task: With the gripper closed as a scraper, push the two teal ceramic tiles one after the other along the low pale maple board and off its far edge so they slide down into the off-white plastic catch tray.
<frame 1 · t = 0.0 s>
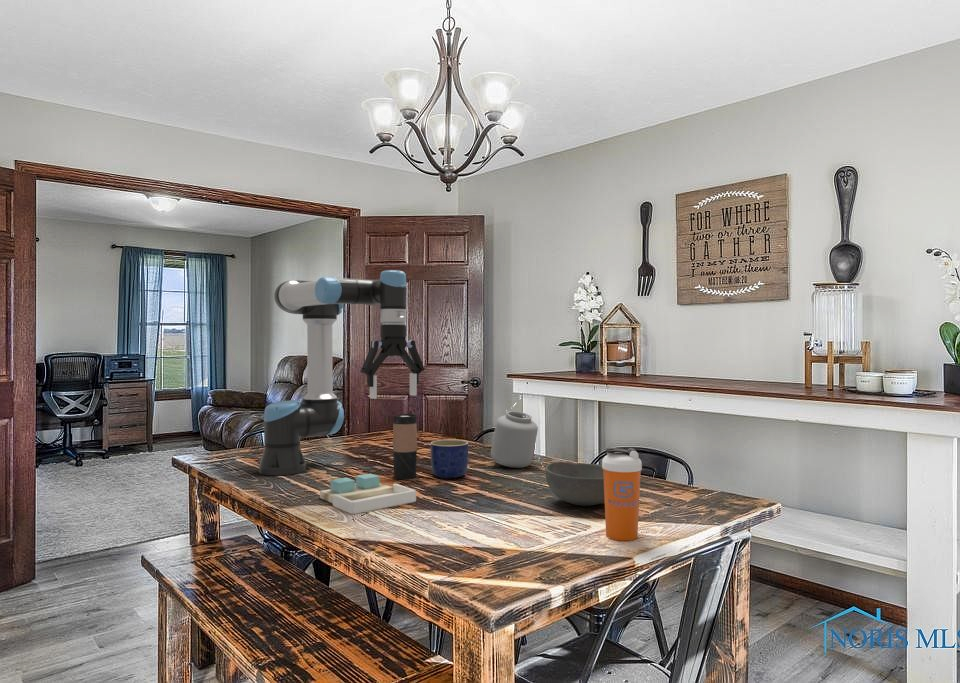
hand: (393, 396, 187), 28 cm above the table, fingers open, 13 cm apart
planter: (449, 476, 209), on the table
tray: (375, 503, 175), on the table
tile a: (367, 486, 186), point 2 cm above the table, touching board
board: (357, 496, 183), on the table
shaker bottle: (621, 537, 147), on the table
travel mug: (405, 477, 207), on the table
tile b: (342, 490, 181), point 2 cm above the table, touching board
jar: (516, 466, 224), on the table
bowl: (582, 505, 174), on the table
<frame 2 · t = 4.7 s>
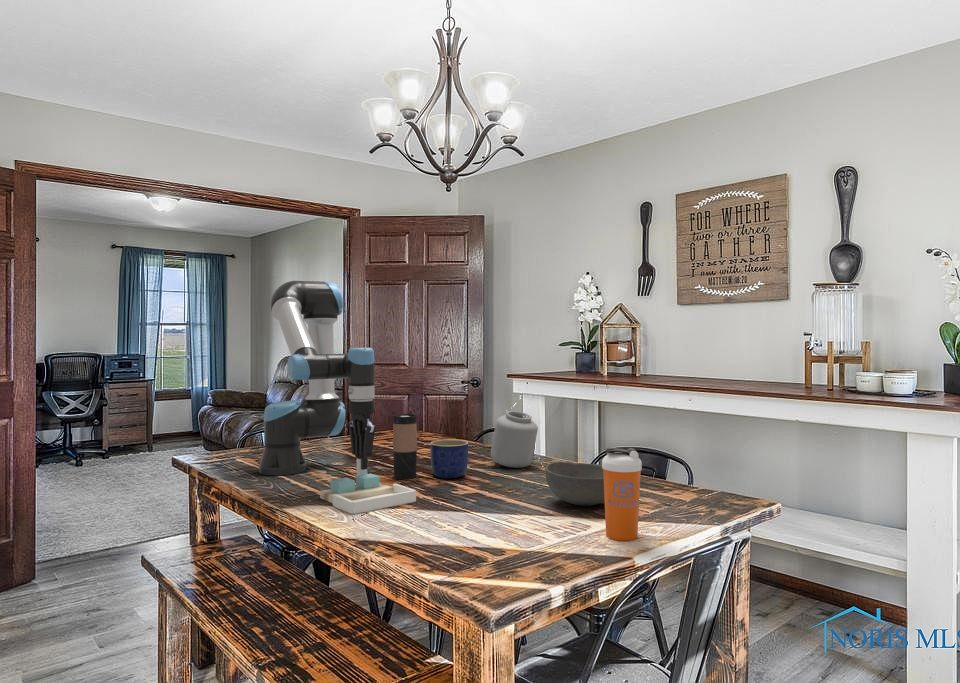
hand: (362, 479, 189), 3 cm above the table, fingers closed
tile a: (367, 486, 186), point 2 cm above the table, touching board, gripper
everything else where it was.
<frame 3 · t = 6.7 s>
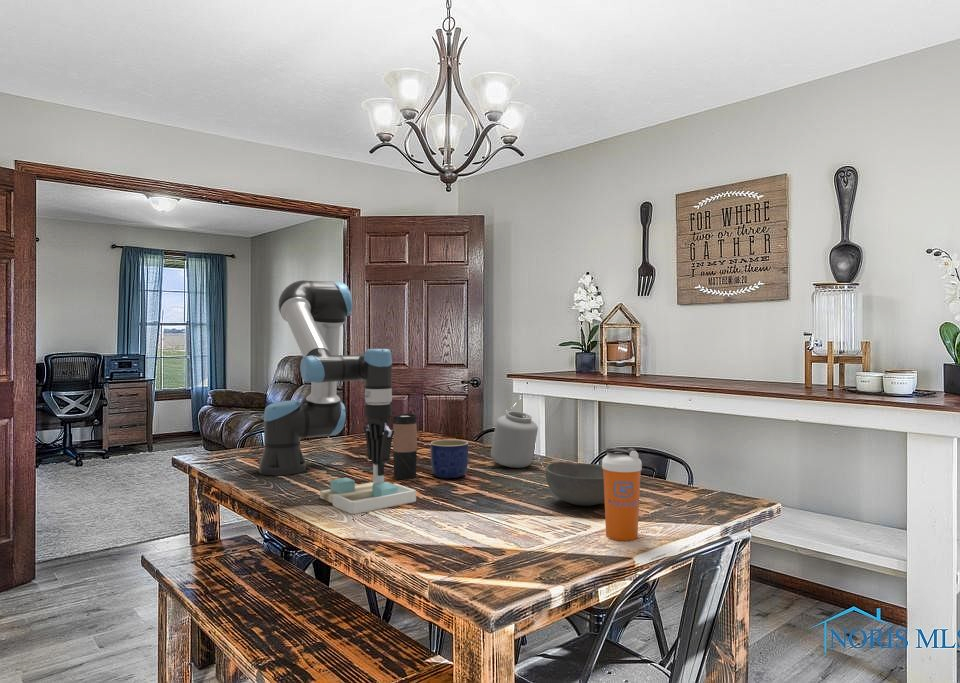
hand: (378, 486, 181), 3 cm above the table, fingers closed
tile a: (384, 496, 179), point 1 cm above the table, tilted 8°
everything else where it was.
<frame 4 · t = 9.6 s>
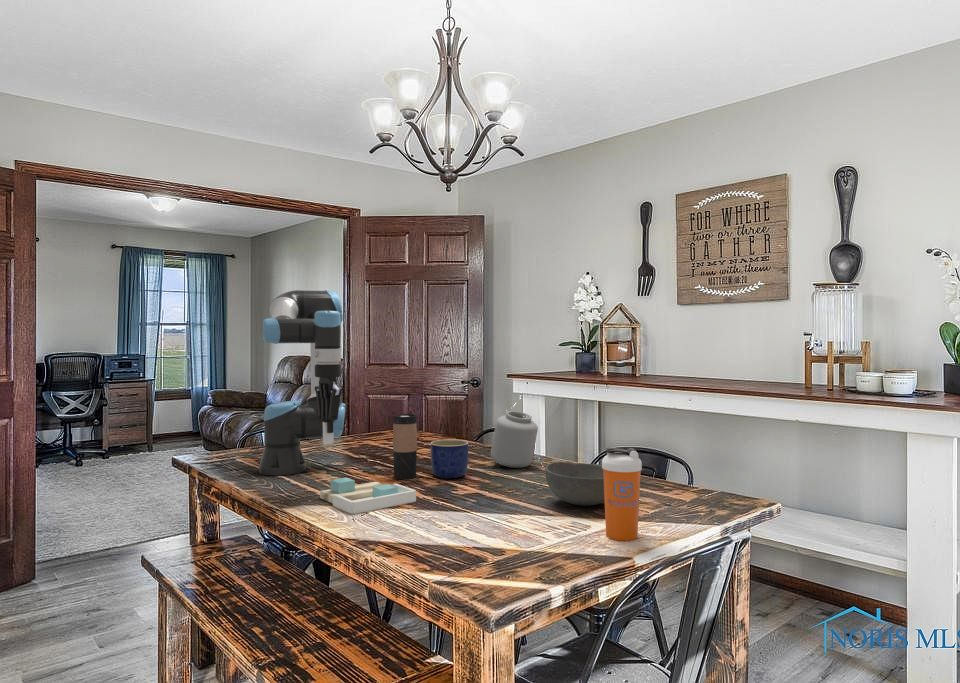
hand: (328, 443, 188), 14 cm above the table, fingers closed
tile a: (385, 497, 179), point 1 cm above the table, touching tray
everything else where it was.
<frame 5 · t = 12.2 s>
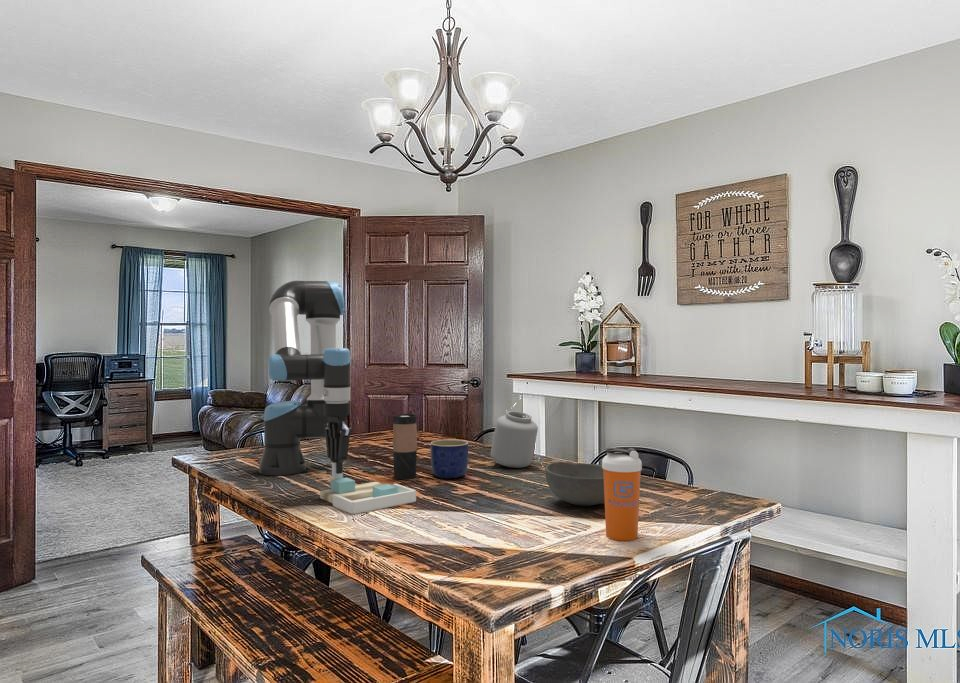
hand: (337, 484, 183), 3 cm above the table, fingers closed
tile b: (343, 490, 181), point 2 cm above the table, touching gripper
everything else where it was.
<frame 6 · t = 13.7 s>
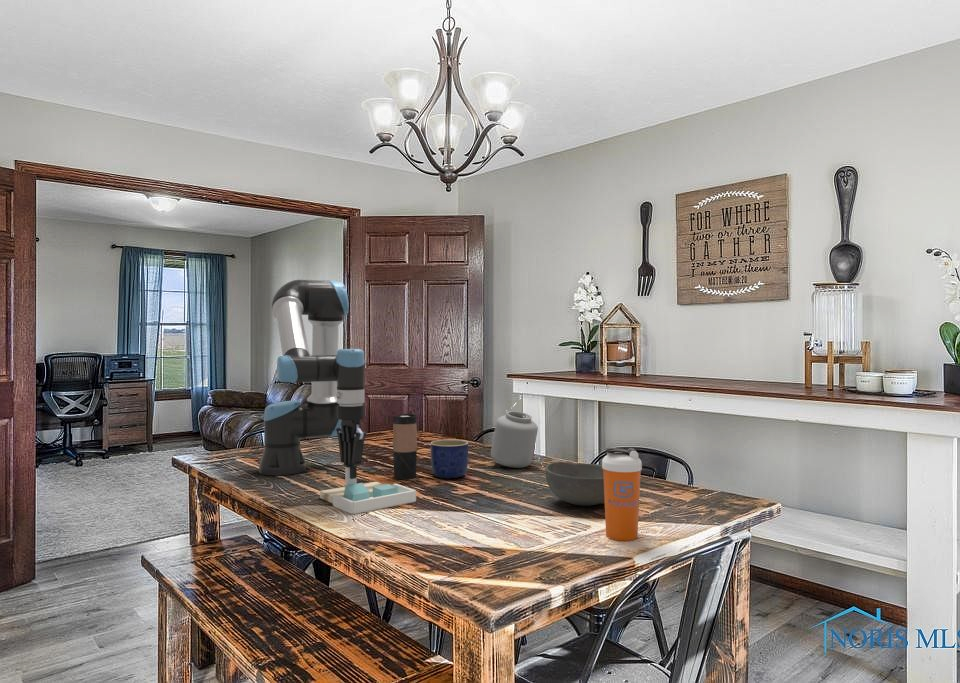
hand: (351, 489, 177), 3 cm above the table, fingers closed
tile b: (356, 498, 175), point 1 cm above the table, tilted 19°, touching gripper
everything else where it was.
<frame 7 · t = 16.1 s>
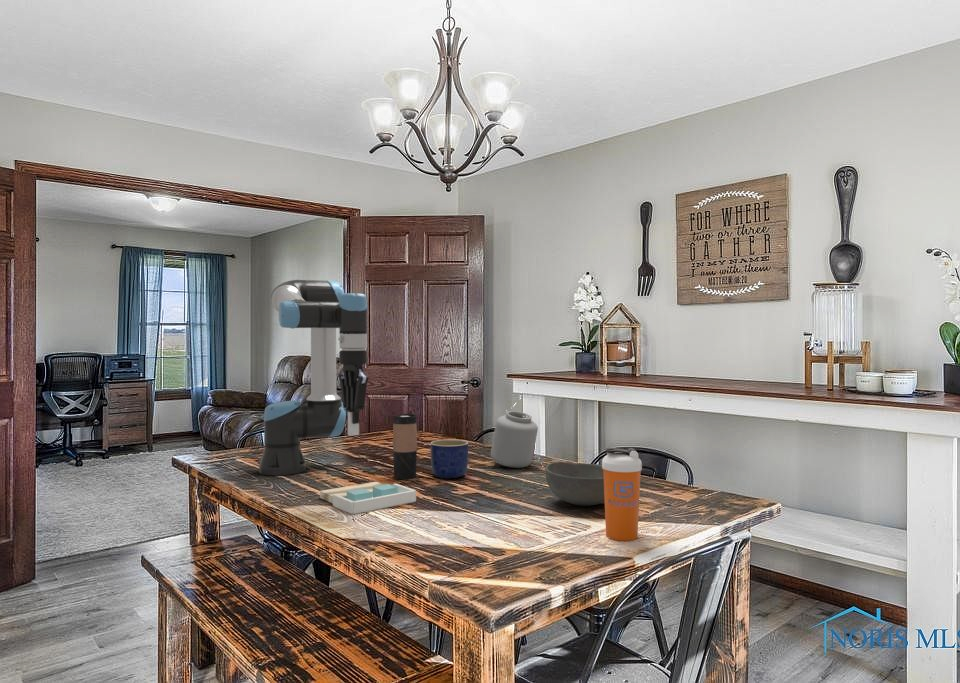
hand: (353, 434, 177), 19 cm above the table, fingers closed
tile b: (359, 502, 174), point 1 cm above the table, touching tray
everything else where it was.
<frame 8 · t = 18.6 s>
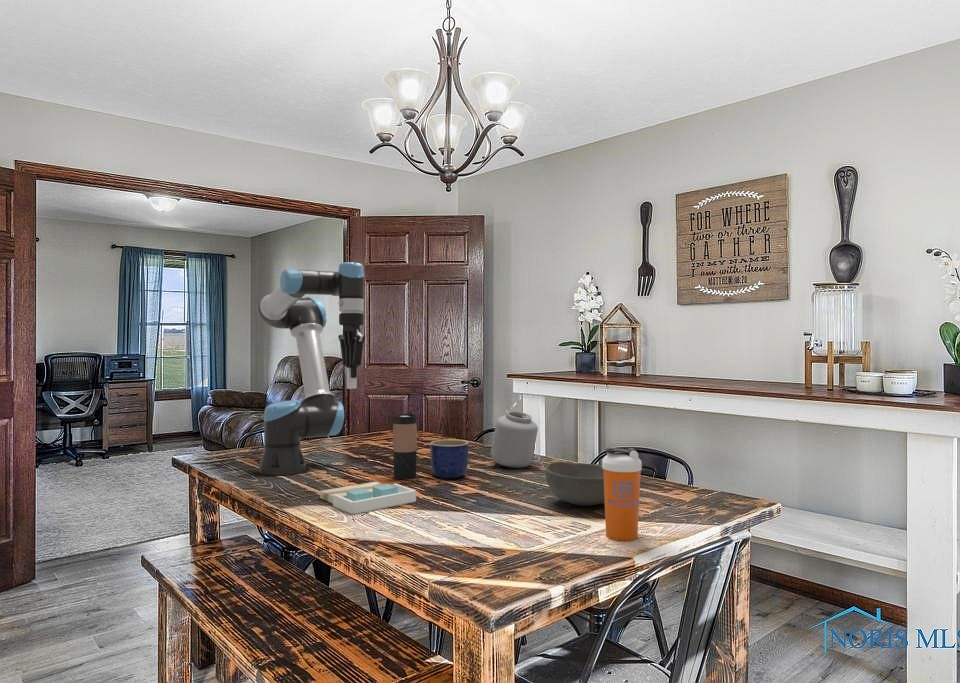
hand: (351, 388, 199), 29 cm above the table, fingers closed
nothing on the table moved.
at the end: tile a inside the target area on the tray (4.5 cm from its centre), point 0.6 cm above the tray's base; tile b inside the target area on the tray (4.6 cm from its centre), point 0.6 cm above the tray's base; tile a touching tray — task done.
